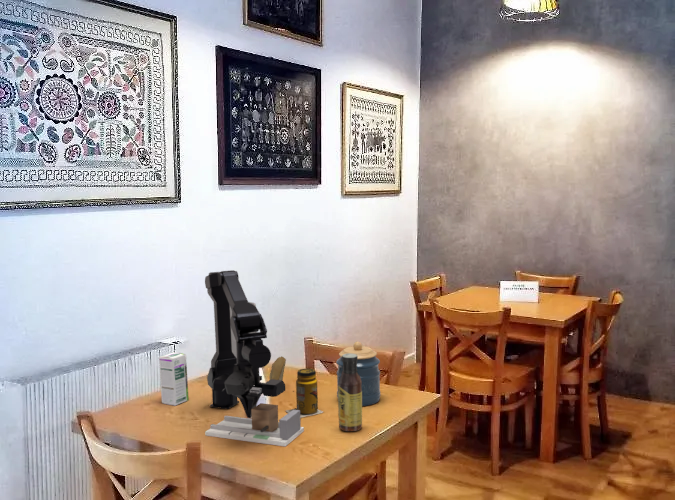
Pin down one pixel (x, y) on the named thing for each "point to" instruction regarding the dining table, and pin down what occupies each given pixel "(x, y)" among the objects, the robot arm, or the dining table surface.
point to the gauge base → (243, 430)
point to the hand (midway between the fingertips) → (249, 417)
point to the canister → (364, 372)
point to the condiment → (306, 393)
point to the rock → (278, 369)
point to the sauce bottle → (350, 395)
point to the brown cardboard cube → (265, 417)
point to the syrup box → (173, 378)
